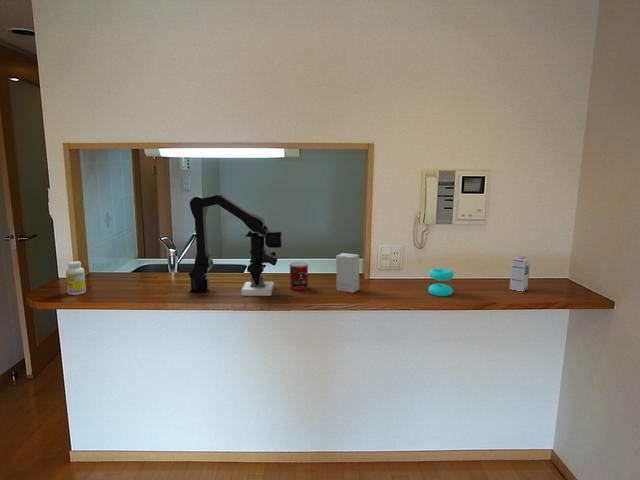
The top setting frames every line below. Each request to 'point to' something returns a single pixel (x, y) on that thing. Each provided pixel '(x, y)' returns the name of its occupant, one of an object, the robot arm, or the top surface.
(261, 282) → the plug
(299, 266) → the canned food
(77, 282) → the supplement bottle
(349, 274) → the skincare box
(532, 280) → the top surface
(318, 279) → the top surface
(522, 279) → the syrup box
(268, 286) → the socket plate
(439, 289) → the donuts
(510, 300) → the top surface
